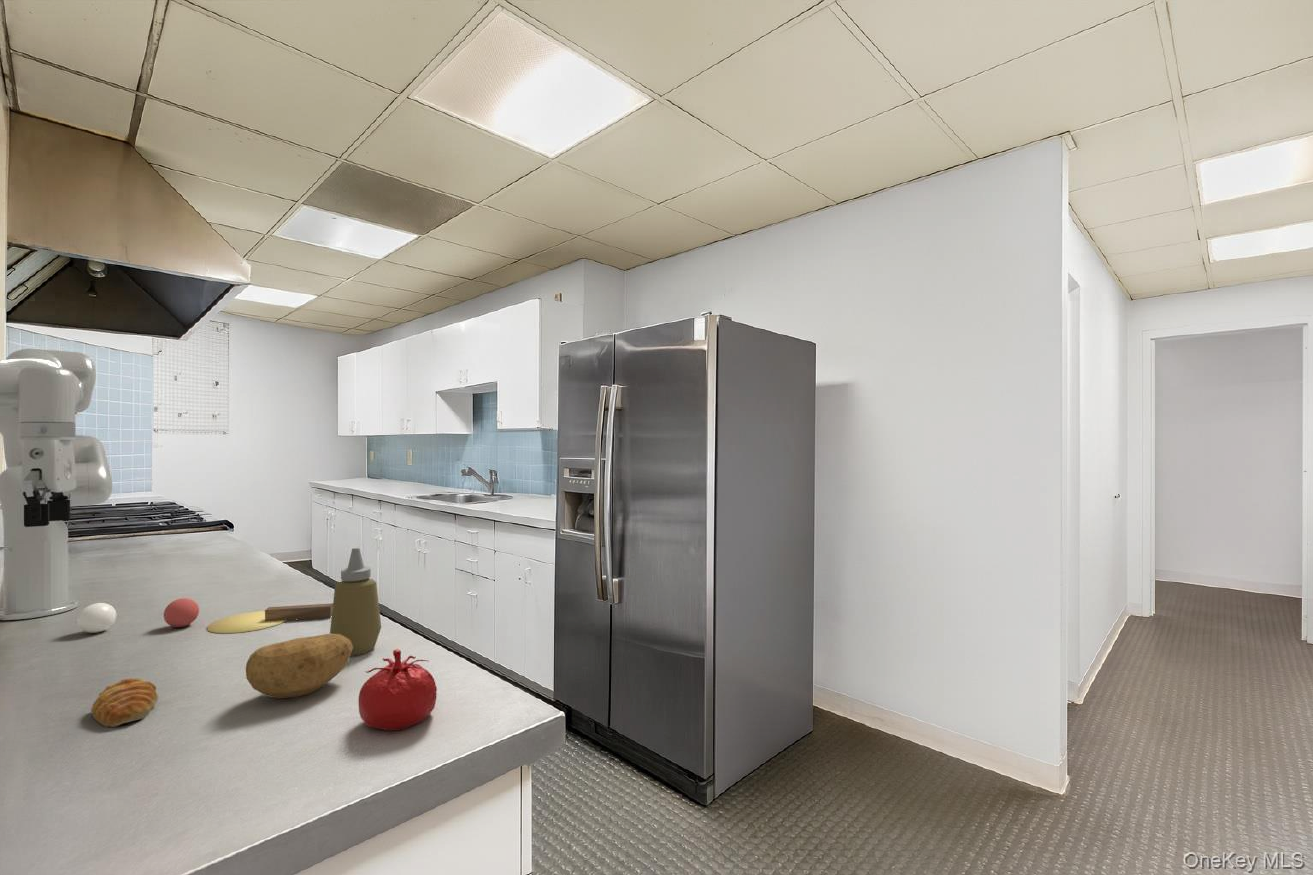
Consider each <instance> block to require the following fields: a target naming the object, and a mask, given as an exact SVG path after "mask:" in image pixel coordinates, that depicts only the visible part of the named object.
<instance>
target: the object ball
mask: <svg viewBox="0 0 1313 875" xmlns="http://www.w3.org/2000/svg"><path fill="white" fill-rule="evenodd" d="M163 611H164V612H163V619H164V621H165V623H166V624H168V625H169V626H170V627H173V628H174V627H175V628H182V627H186V626H189V625H190V624H192V623H193V622H194V621H195V620H196V619H197V618H198V616H199V613H200V607H199V605H198V603H197V602H196V601H195V600H194V599H191V598H186V597H182V598H177V599H175V600H173V601H171V602H170V603H169V604H168V605H167V606H166V607H165V609H164V610H163Z"/></svg>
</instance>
